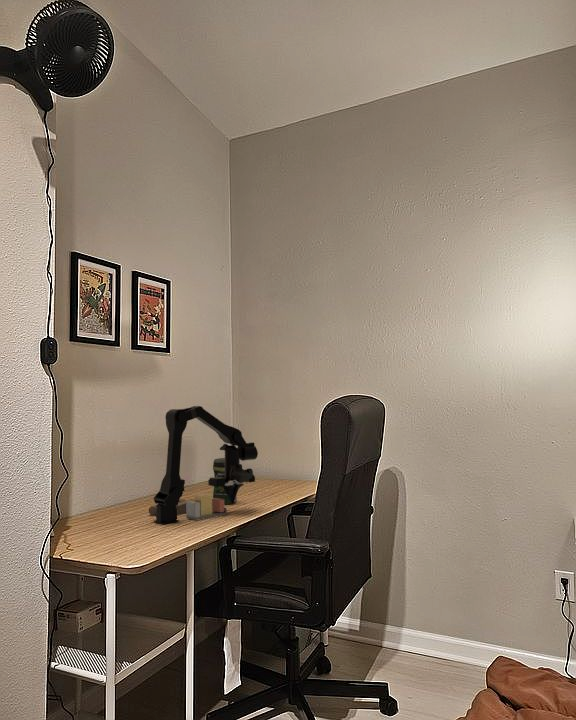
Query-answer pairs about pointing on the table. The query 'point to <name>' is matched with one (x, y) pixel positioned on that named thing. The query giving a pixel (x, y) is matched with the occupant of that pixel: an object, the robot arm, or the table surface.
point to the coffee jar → (219, 472)
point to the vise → (194, 511)
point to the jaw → (217, 505)
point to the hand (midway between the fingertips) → (232, 502)
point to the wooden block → (180, 507)
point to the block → (204, 503)
